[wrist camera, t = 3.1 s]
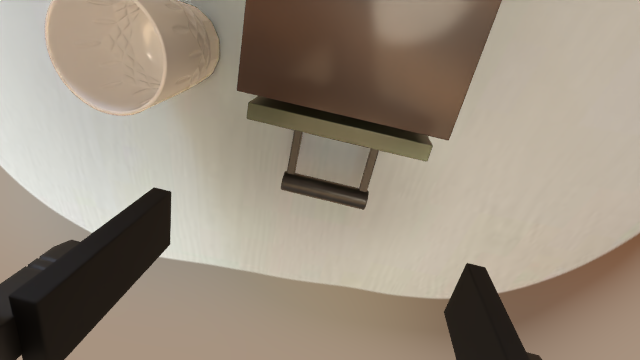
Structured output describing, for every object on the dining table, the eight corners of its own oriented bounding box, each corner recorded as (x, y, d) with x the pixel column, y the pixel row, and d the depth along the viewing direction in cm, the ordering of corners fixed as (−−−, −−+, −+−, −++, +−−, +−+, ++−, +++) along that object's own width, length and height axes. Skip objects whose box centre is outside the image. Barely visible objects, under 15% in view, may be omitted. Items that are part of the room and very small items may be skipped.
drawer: (395, 194, 33) (401, 233, 27) (262, 162, 33) (237, 193, 27) (481, -64, 24) (519, -94, 18) (300, -103, 25) (277, -146, 18)
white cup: (156, 94, 33) (74, 120, 24) (128, 0, 30) (22, -11, 21) (235, 85, 31) (181, 110, 22) (215, -14, 28) (142, -32, 19)
